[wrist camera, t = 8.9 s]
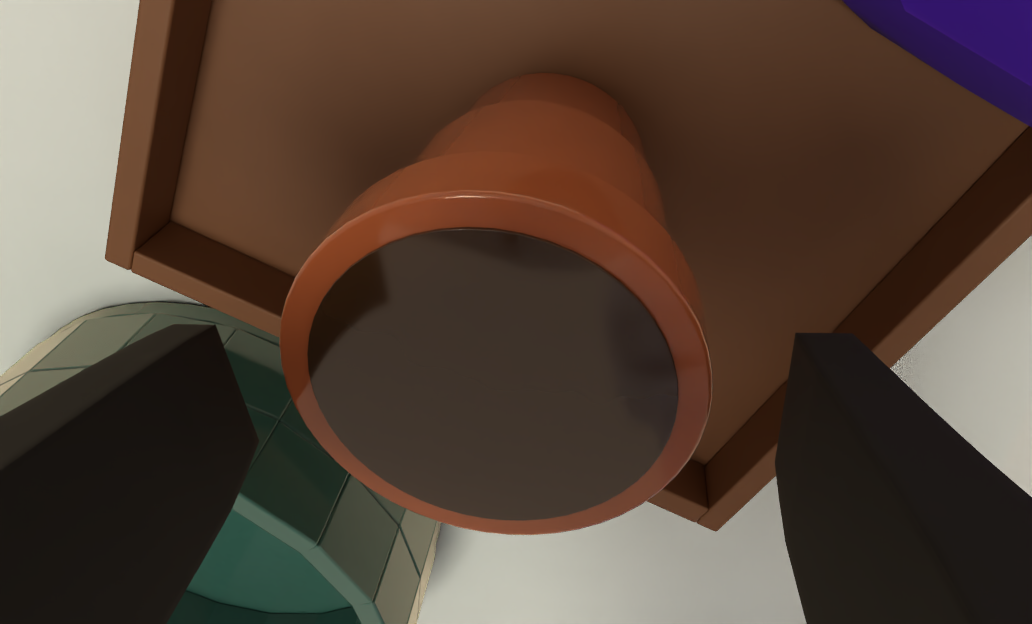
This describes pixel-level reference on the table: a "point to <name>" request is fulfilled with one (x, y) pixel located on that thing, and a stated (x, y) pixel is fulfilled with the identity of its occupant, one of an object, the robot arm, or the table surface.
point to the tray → (668, 150)
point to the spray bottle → (964, 43)
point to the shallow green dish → (266, 491)
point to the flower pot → (506, 322)
